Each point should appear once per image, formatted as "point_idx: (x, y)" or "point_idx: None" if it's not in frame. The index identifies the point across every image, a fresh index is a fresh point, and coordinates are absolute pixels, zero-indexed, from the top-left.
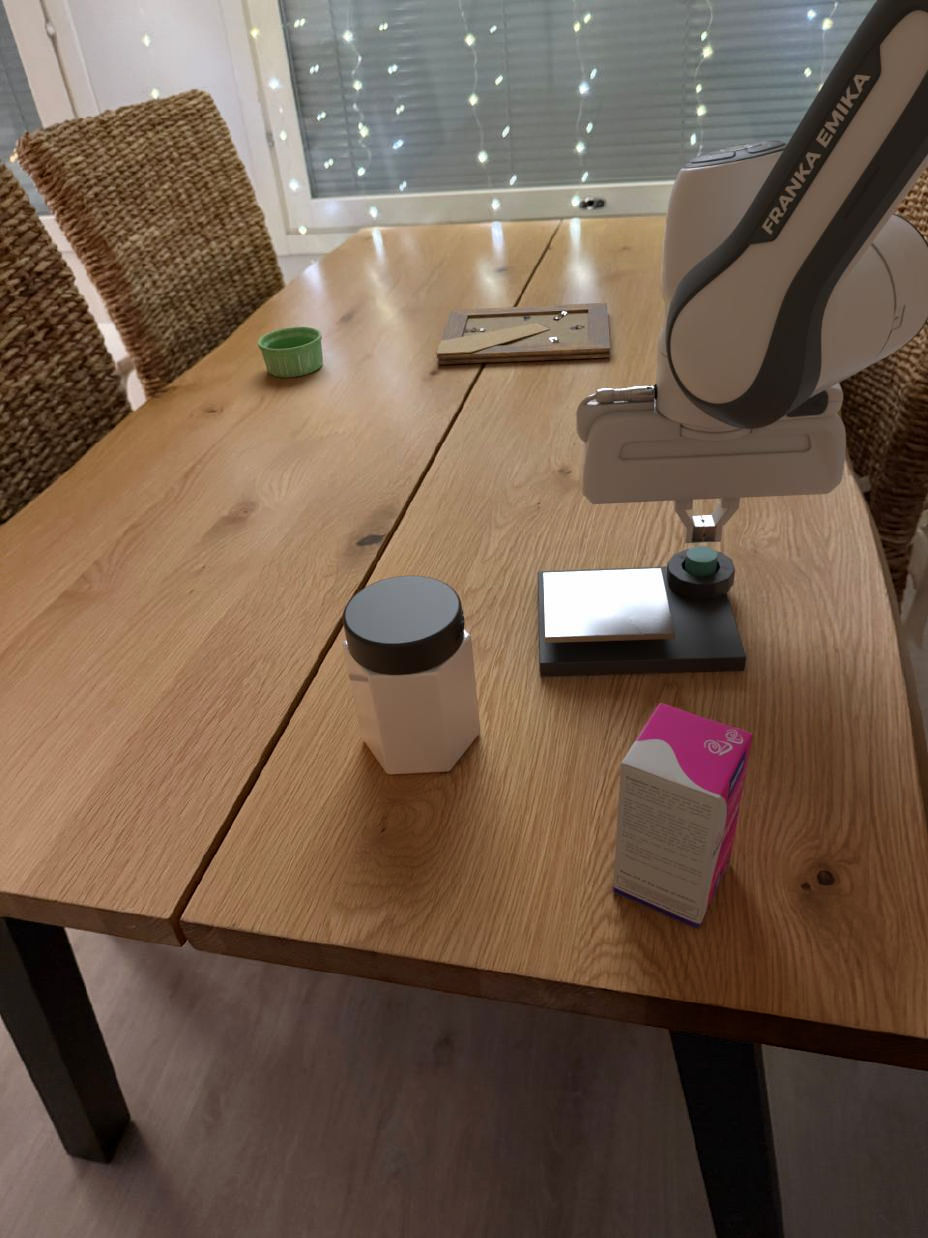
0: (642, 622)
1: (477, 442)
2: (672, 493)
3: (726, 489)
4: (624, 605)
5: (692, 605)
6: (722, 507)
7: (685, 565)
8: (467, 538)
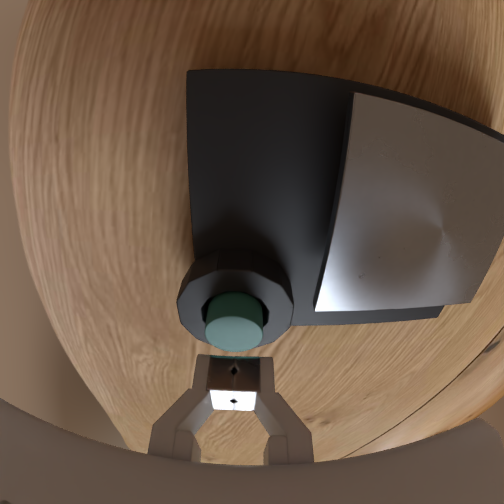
0: (410, 148)
1: (370, 432)
2: (338, 483)
3: (180, 488)
4: (420, 212)
5: (262, 234)
6: (191, 433)
7: (262, 318)
8: (442, 358)
